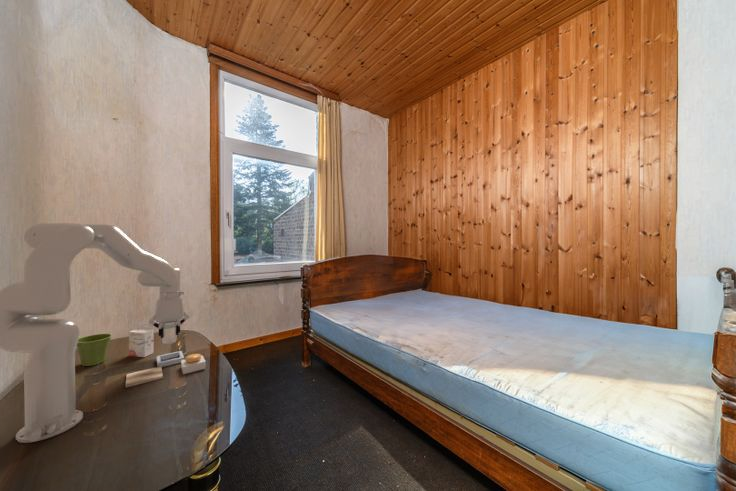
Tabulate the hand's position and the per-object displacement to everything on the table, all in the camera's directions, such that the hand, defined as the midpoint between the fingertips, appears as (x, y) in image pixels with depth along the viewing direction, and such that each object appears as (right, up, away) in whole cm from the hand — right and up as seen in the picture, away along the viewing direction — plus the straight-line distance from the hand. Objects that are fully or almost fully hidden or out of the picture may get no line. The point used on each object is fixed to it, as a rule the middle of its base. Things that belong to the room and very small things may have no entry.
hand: (169, 335), depth 120 cm
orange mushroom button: (+14, -11, -6) cm, 19 cm away
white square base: (+14, -12, -6) cm, 20 cm away
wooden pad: (0, -12, -14) cm, 18 cm away
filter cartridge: (0, -3, 0) cm, 3 cm away
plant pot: (-32, -12, -2) cm, 34 cm away
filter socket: (0, -12, +1) cm, 12 cm away
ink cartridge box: (-19, -12, +7) cm, 23 cm away
